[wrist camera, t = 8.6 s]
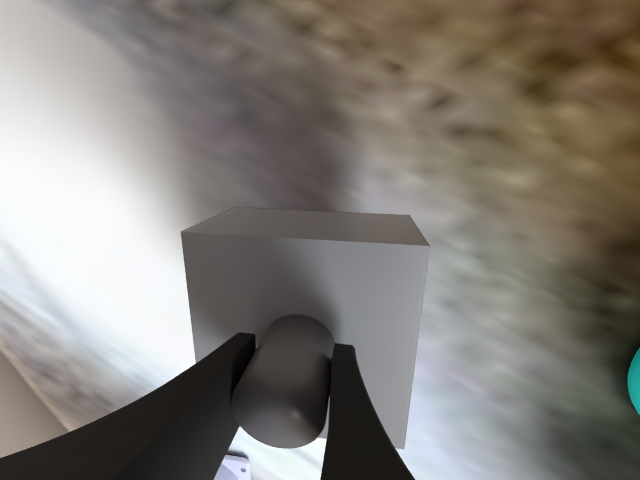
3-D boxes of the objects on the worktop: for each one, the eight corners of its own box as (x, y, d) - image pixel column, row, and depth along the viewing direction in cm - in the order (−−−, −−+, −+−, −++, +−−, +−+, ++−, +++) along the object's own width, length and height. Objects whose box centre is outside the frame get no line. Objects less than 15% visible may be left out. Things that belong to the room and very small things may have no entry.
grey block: (393, 368, 17) (415, 538, 10) (243, 352, 18) (159, 494, 11) (409, 215, 15) (455, 285, 7) (234, 207, 16) (116, 261, 8)
